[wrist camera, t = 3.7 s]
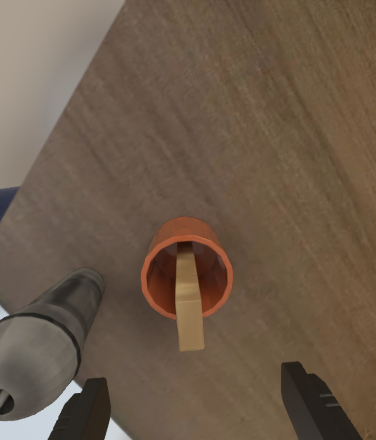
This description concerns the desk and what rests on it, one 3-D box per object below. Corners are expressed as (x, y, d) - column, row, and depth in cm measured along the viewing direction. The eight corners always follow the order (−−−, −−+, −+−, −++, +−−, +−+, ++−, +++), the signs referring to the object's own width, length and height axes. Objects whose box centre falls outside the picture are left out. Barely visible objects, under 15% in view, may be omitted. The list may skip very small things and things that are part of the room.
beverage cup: (126, 273, 31) (34, 464, 11) (101, 322, 32) (-20, 571, 12) (68, 246, 30) (-143, 404, 10) (45, 298, 31) (-182, 527, 12)
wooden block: (179, 266, 30) (179, 352, 16) (177, 237, 29) (174, 302, 16) (193, 265, 30) (204, 350, 16) (191, 236, 29) (201, 300, 16)
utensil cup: (154, 284, 31) (146, 324, 23) (147, 219, 29) (135, 239, 22) (220, 278, 31) (234, 317, 23) (217, 213, 30) (231, 231, 22)
